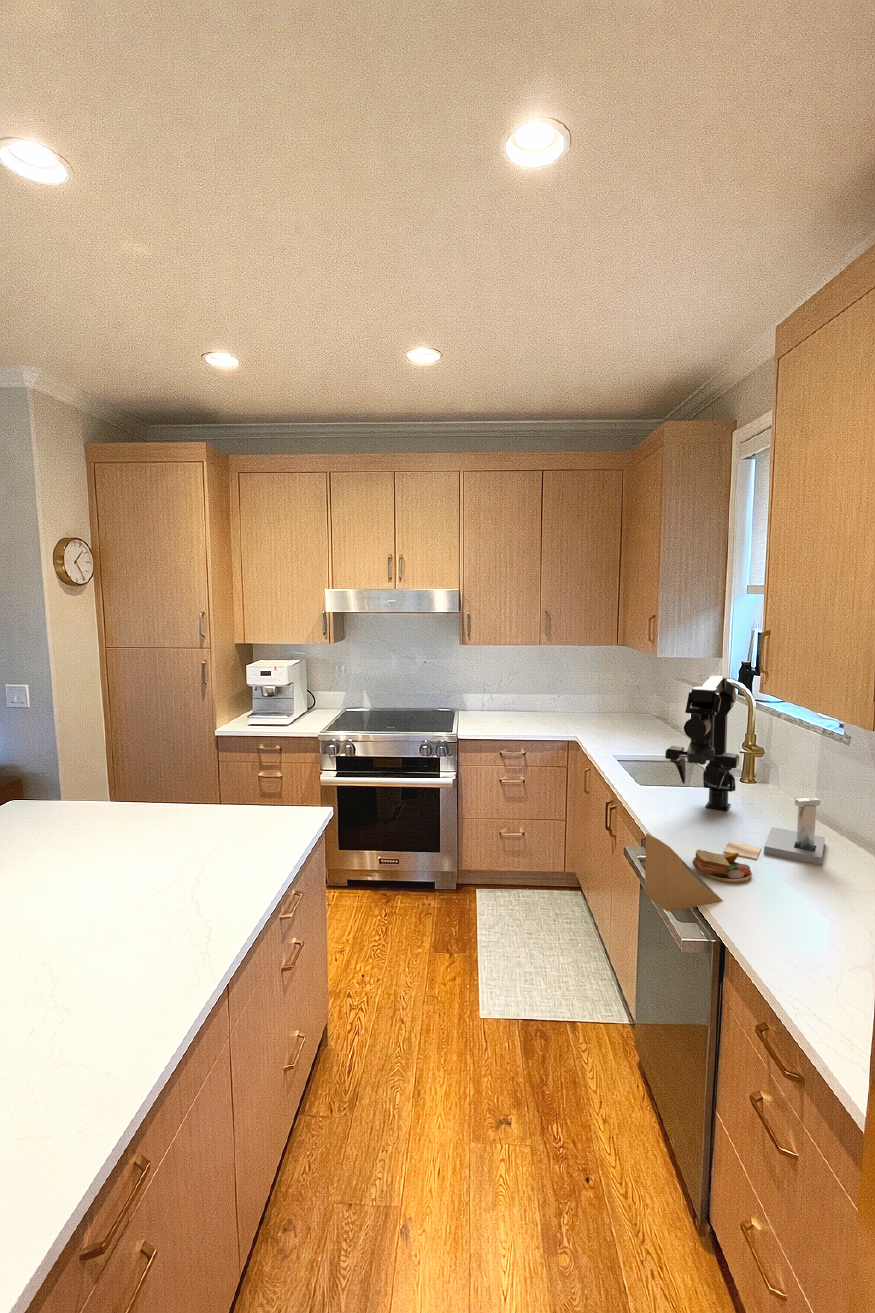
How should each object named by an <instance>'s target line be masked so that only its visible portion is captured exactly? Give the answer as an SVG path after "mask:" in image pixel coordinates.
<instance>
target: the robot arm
mask: <svg viewBox="0 0 875 1313" xmlns="http://www.w3.org/2000/svg"><path fill="white" fill-rule="evenodd" d="M727 679H728V678H727V677H726V676H724V675H708V677H707V680H706V681H705V682H704V684H703V685H701V686H694V687H693V688H692V689H691V690H689V692H688V695H687V701H686V708H685V711H684V712H685V714H690V718H689V719H688V720H687V721H685V723H684V724H683V731H684V733H685V735H686V737H688V738H690V743H689V744H688V747H687V749H686V750H685V747H684V746H676V745H670V746H669V747H668V748H667V749H666V750H665V756H664V757H665V759H667V760H669V761H670V762H671V763H673V764H674V765H675V766H676V768H677V770H678V773H679V777H680V779H681V783H682V784H684V785H685V783H686V761H687V762H688V763H689V764H699V765H702V766H703V765H705V768H704V770H703V775H702V777H703V779H702V781H703V788H704V789H705V788H707V789H708V801H707V803H706V804H705V808H709V809H714V810H720V811H726V812H727V811H729V809H730V807H731V803H729V792H730V793H732V792H736V778H735V776H734V772H732V769H737V768H738V766H739V765H740V760H741V759H740V755H738V754H737V753H730V752H727V744H728V743H727V738H728V717H729V716H728V715H729V713H730V711H731V710H732V709H733V707H734V704H735V703H736V699H737V693H736V692H737V691H736V687H735V686H734V684H732V683H731V682H729V681H728V680H727ZM707 761H709V762H708V763H707ZM706 764H707V765H706Z"/></svg>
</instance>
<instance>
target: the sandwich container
mask: <svg viewBox="0 0 875 1313" xmlns="http://www.w3.org/2000/svg"><path fill="white" fill-rule="evenodd" d="M644 866H645V867H644V868H645V870H644V871H645V872H644V885H645V886H644V895H645V896H646V897H647V898H649V899H650V900H652V901H653V902H654V903H655V904H656V905H658V906H659V907H661V908H662V909H663V910H664V911H666V912H674V911H679V910H687V909H692V908H696V907H702V906H706V905H712V904H716V903H721V901H722V902H724V900H723V899H722V898H721V897H720V896H719V895H718V894H717V893H716V892H715V891H714V890H713V889H712V888H711V887H710V886H709V885H708V884H707V883H706V882H705V881H704V880H703V879H701V877H700V876H699V875H698V874H697V873H696V872H695V871H694V870H693V869H692V868H691V867H690V866H688V864H687V863H686V862H685V861H683V859H682V858H681V857H680V856H679V855H678V854H677V853H676V852H675V851H674V850H673V849H672V848H671V846H669V845H668V844H667V843H664V841H662V840H660V839H659V838H657V837H655V836H653V835H651V834H649V833H646V834H645V863H644Z"/></svg>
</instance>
